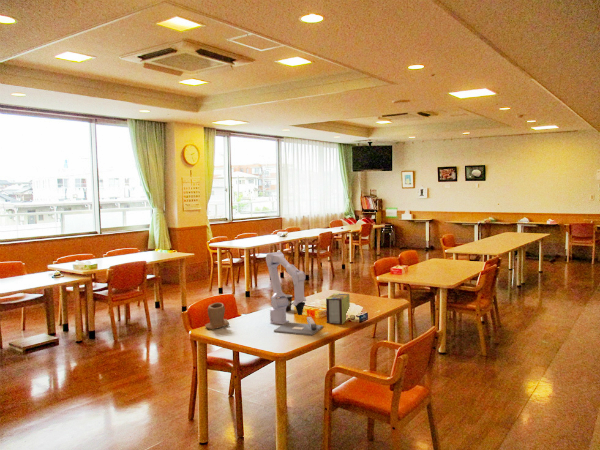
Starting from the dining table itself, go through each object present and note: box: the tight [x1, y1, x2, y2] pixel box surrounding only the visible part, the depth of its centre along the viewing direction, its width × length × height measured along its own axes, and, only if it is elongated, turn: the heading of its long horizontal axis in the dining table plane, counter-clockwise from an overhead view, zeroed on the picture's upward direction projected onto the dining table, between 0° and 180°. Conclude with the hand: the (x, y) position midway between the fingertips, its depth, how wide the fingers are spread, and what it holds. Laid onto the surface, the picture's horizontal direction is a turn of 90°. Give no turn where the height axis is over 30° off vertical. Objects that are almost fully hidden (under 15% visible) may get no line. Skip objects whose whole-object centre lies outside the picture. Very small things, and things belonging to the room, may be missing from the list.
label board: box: [273, 321, 324, 337], centre depth 297 cm, size 24×18×1 cm
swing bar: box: [306, 316, 317, 330], centre depth 300 cm, size 18×3×3 cm, turn 8°
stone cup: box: [204, 302, 230, 330], centre depth 307 cm, size 15×12×15 cm
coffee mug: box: [279, 294, 295, 312], centre depth 344 cm, size 12×9×10 cm
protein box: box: [325, 292, 351, 325], centre depth 314 cm, size 10×15×16 cm
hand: (299, 314), depth 298 cm, fingers closed
